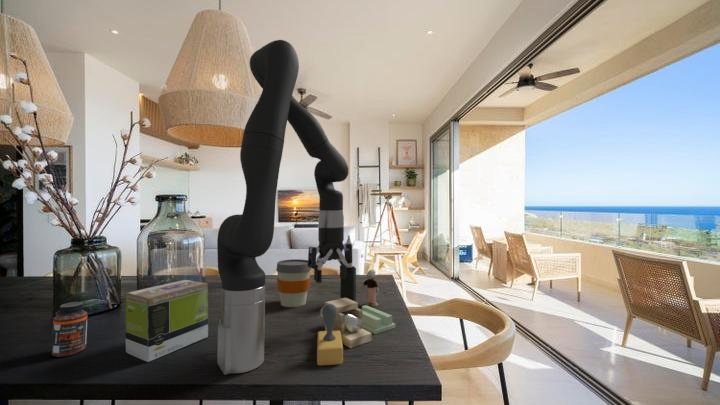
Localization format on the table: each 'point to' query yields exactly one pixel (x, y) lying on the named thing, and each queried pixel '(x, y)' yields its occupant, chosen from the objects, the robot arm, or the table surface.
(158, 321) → the tea box
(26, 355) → the table surface
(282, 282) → the reusable coffee cup
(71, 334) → the supplement bottle
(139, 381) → the table surface
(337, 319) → the beige block
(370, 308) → the cradle
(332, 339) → the rubber stamp
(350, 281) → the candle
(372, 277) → the grandmother figurine
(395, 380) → the table surface
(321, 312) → the axle
